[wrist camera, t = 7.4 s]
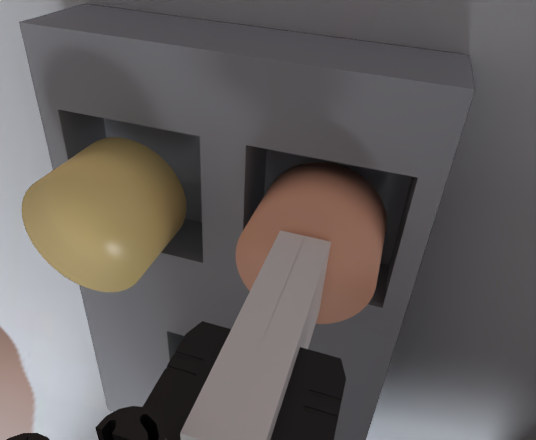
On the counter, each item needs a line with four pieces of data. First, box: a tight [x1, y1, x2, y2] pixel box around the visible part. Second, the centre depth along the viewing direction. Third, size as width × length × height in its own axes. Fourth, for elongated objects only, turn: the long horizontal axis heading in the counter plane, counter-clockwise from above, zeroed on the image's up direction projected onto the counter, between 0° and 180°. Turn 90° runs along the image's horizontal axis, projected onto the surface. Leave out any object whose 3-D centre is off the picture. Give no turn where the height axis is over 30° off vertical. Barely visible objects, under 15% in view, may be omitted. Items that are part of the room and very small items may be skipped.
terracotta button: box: [236, 162, 387, 324], centre depth 16 cm, size 4×4×3 cm
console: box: [19, 4, 475, 440], centre depth 21 cm, size 14×21×4 cm, turn 178°
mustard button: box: [22, 137, 186, 292], centre depth 16 cm, size 4×4×3 cm
